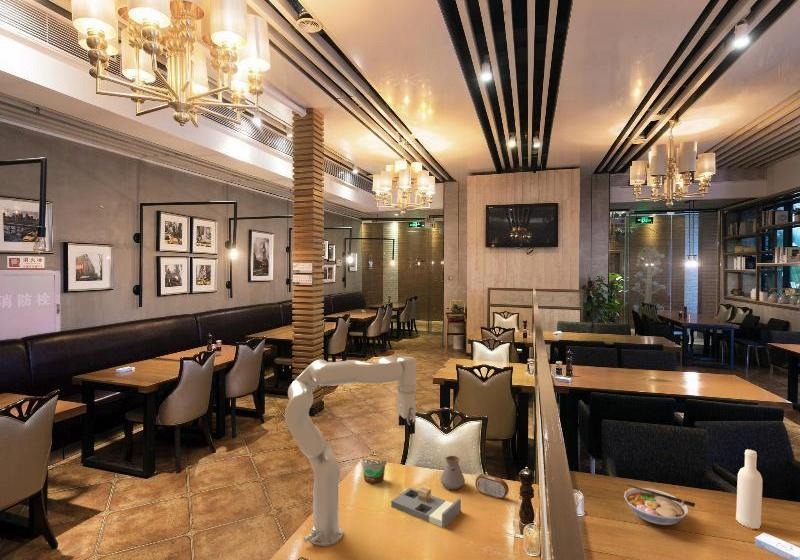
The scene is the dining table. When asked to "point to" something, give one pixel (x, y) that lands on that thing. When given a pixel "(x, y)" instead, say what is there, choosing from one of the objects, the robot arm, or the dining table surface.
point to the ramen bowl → (656, 505)
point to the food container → (373, 470)
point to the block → (424, 494)
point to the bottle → (749, 492)
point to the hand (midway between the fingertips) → (406, 429)
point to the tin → (492, 486)
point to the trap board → (427, 507)
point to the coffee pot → (452, 474)
